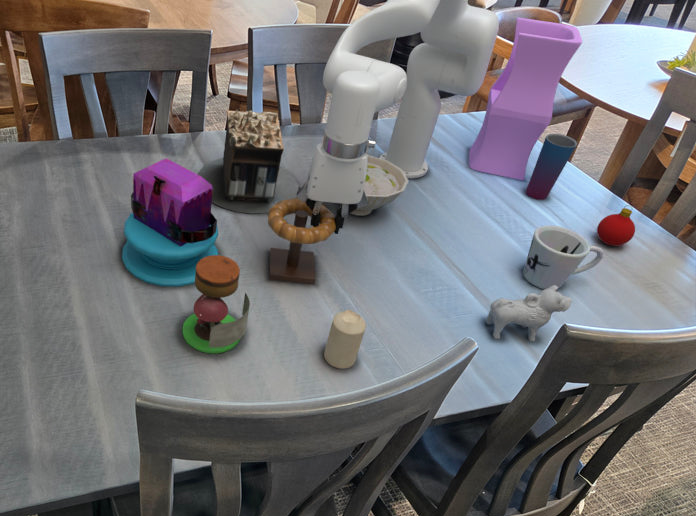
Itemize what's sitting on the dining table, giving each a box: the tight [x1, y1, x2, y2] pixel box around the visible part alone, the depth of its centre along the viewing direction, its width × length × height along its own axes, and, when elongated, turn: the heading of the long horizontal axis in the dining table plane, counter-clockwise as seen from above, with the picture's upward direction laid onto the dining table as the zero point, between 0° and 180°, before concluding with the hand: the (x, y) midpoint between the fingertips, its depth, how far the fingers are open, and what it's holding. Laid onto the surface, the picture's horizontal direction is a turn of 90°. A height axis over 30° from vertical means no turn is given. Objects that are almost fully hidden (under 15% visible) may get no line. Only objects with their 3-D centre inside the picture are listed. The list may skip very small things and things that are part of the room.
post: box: [269, 210, 317, 285], centre depth 125 cm, size 9×9×14 cm
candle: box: [323, 309, 367, 370], centre depth 108 cm, size 6×6×10 cm
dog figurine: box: [485, 285, 573, 342], centre depth 115 cm, size 5×13×11 cm, turn 89°
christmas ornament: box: [596, 204, 636, 247], centre depth 140 cm, size 7×7×10 cm
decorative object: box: [121, 157, 219, 287], centre depth 124 cm, size 20×20×20 cm
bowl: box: [350, 154, 410, 216], centre depth 146 cm, size 19×19×10 cm
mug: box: [522, 225, 604, 290], centre depth 128 cm, size 10×15×10 cm
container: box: [468, 17, 583, 181], centre depth 158 cm, size 14×14×35 cm
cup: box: [525, 133, 578, 201], centre depth 153 cm, size 7×7×15 cm
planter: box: [196, 109, 299, 214], centre depth 148 cm, size 25×25×19 cm
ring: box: [267, 197, 336, 245], centre depth 122 cm, size 13×13×3 cm
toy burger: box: [182, 254, 251, 354], centre depth 109 cm, size 12×13×15 cm
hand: (325, 228), depth 123 cm, fingers closed on ring, 3 cm apart
